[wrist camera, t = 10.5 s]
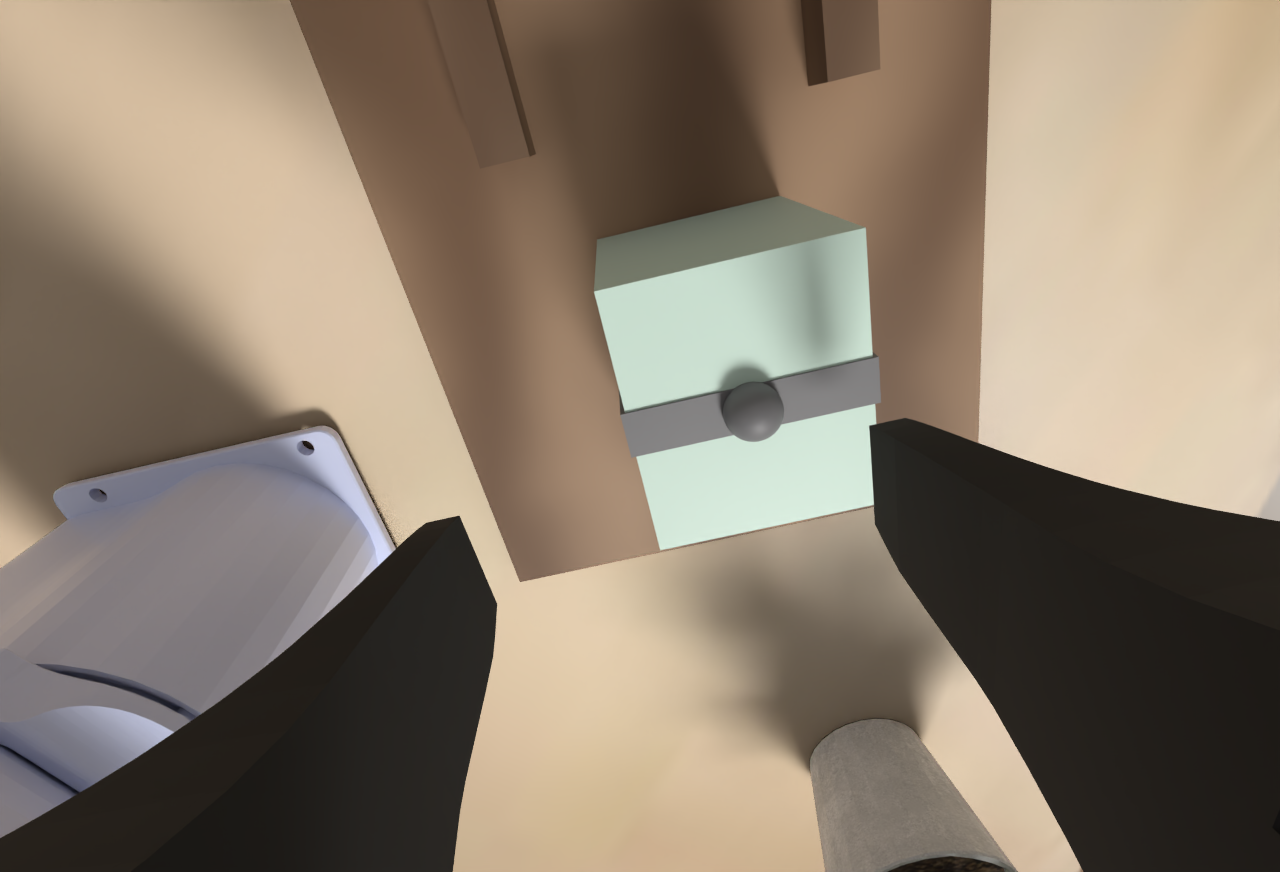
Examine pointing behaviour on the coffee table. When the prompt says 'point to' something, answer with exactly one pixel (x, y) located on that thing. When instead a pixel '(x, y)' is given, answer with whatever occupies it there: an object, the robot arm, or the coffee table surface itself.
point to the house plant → (894, 806)
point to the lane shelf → (650, 203)
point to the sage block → (743, 366)
